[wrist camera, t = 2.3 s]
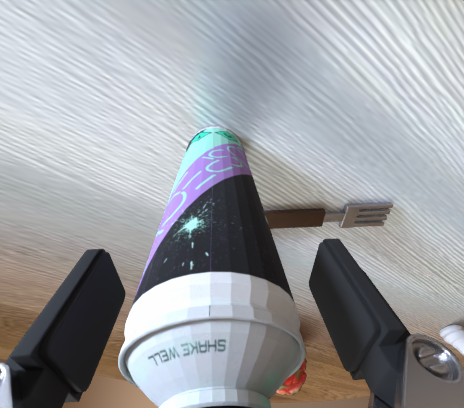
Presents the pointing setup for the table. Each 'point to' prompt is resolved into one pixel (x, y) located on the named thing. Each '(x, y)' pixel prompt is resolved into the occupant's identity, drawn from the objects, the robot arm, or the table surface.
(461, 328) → the rook chess piece
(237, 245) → the spray can
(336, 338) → the robot arm
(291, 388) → the dragon fruit
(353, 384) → the table surface
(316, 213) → the fork
